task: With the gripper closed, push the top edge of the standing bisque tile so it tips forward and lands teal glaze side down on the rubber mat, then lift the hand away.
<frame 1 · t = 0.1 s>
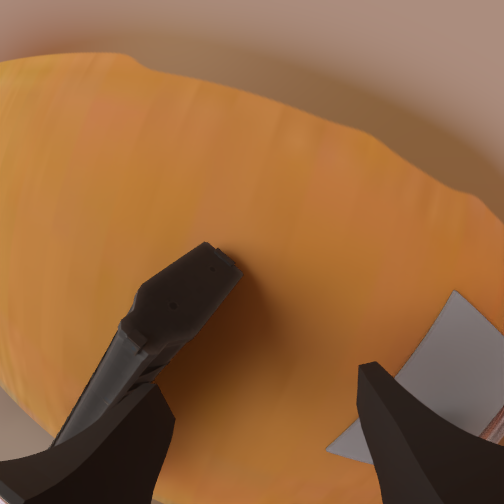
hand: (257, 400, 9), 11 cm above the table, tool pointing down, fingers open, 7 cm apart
magazine: (128, 379, 21), on the table
mat: (450, 409, 18), on the table
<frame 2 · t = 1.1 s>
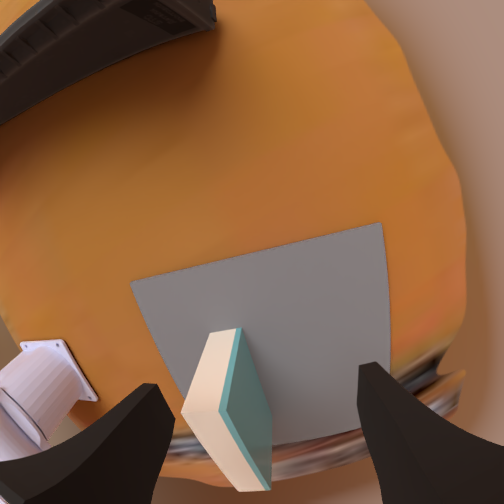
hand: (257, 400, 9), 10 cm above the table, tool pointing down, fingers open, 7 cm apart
magazine: (51, 83, 15), on the table
mat: (281, 371, 20), on the table
tile: (244, 380, 20), resting on mat
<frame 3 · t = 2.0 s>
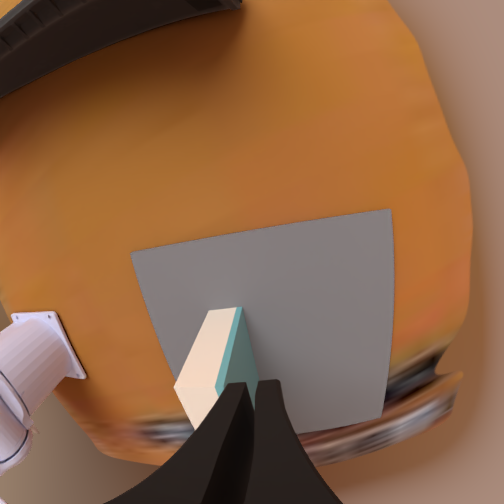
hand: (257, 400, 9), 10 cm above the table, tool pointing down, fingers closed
magazine: (70, 52, 15), on the table
mat: (278, 357, 20), on the table
tile: (240, 364, 20), resting on mat
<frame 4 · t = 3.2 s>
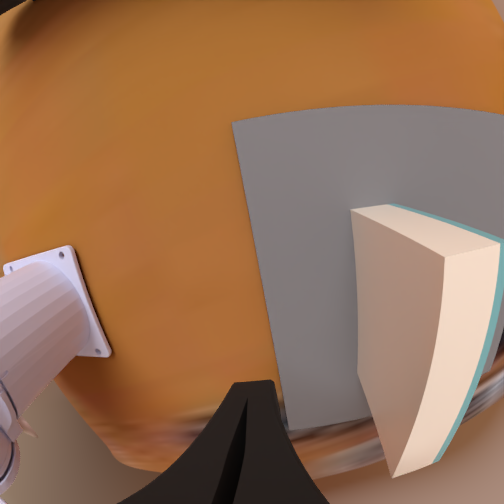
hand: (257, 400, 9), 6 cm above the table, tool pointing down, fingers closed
mat: (420, 285, 14), on the table
tile: (377, 299, 14), resting on mat
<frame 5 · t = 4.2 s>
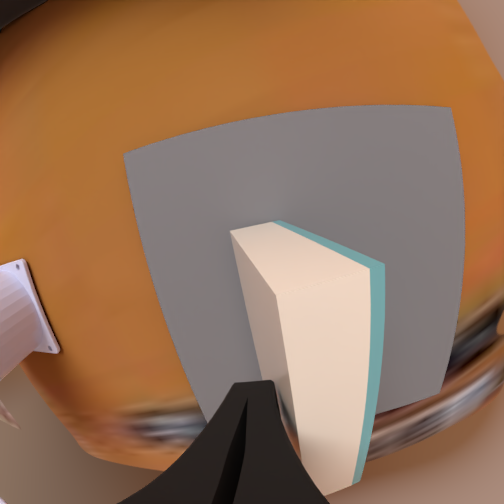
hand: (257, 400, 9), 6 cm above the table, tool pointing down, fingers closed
mat: (326, 305, 14), on the table
tile: (272, 320, 14), point 1 cm above the table, tilted 15°, touching mat
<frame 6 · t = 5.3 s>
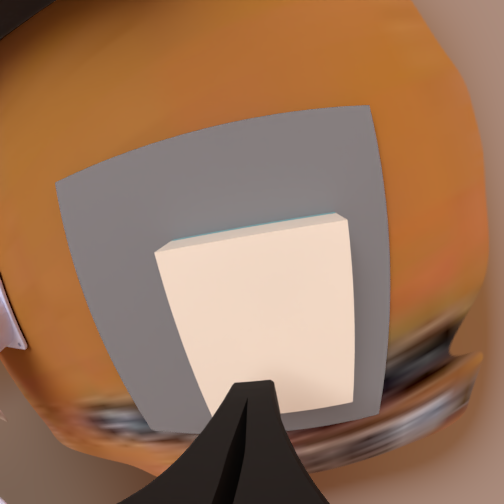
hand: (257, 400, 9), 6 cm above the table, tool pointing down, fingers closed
magazine: (37, 6, 10), on the table
mat: (228, 319, 15), on the table
tile: (191, 338, 14), point 2 cm above the table, tilted 90°, touching mat
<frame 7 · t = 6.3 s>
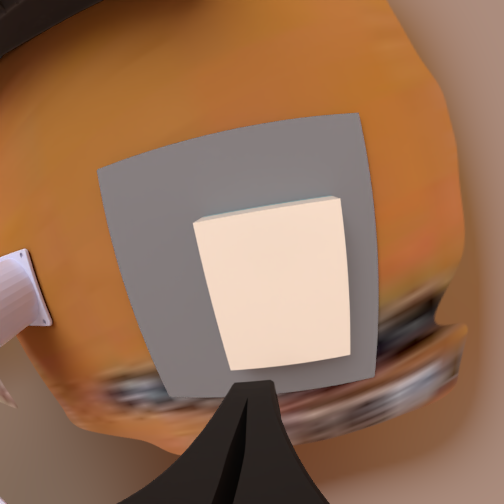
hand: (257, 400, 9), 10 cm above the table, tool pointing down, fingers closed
magazine: (68, 11, 13), on the table
mat: (246, 284, 18), on the table
tile: (216, 297, 17), point 2 cm above the table, tilted 90°, touching mat
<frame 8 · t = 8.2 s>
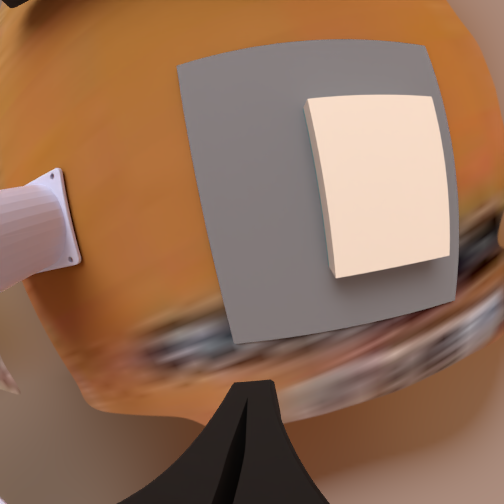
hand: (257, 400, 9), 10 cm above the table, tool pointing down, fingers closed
mat: (343, 183, 16), on the table
tile: (321, 188, 15), point 2 cm above the table, tilted 90°, touching mat
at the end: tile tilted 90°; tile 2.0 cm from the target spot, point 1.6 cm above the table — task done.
